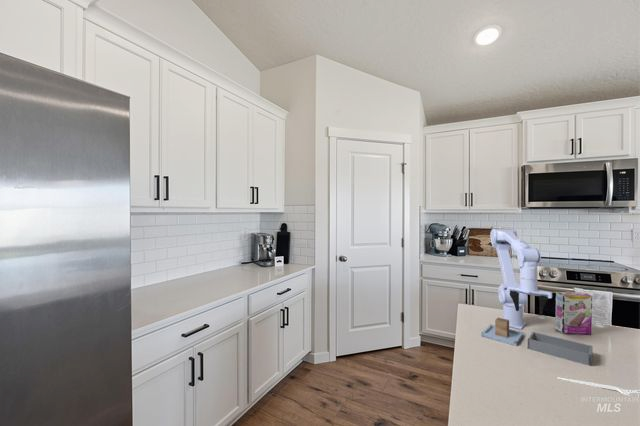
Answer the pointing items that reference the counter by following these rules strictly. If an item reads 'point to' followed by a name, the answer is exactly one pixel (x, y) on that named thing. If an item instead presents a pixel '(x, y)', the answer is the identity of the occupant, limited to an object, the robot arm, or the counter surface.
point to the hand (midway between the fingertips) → (528, 312)
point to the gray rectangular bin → (561, 348)
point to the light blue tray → (511, 339)
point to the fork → (604, 386)
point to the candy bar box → (573, 313)
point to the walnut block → (502, 327)
